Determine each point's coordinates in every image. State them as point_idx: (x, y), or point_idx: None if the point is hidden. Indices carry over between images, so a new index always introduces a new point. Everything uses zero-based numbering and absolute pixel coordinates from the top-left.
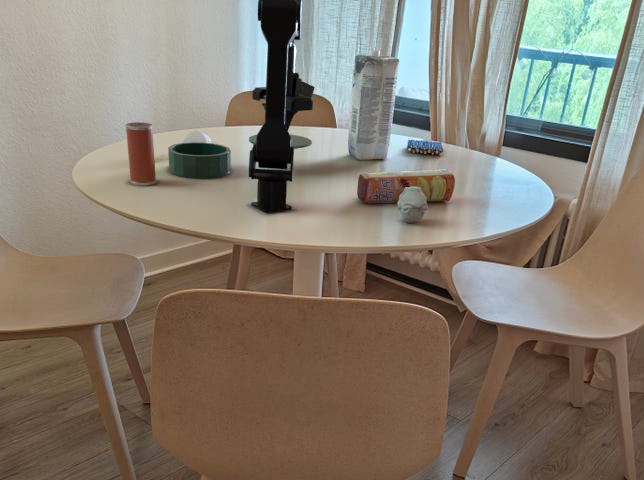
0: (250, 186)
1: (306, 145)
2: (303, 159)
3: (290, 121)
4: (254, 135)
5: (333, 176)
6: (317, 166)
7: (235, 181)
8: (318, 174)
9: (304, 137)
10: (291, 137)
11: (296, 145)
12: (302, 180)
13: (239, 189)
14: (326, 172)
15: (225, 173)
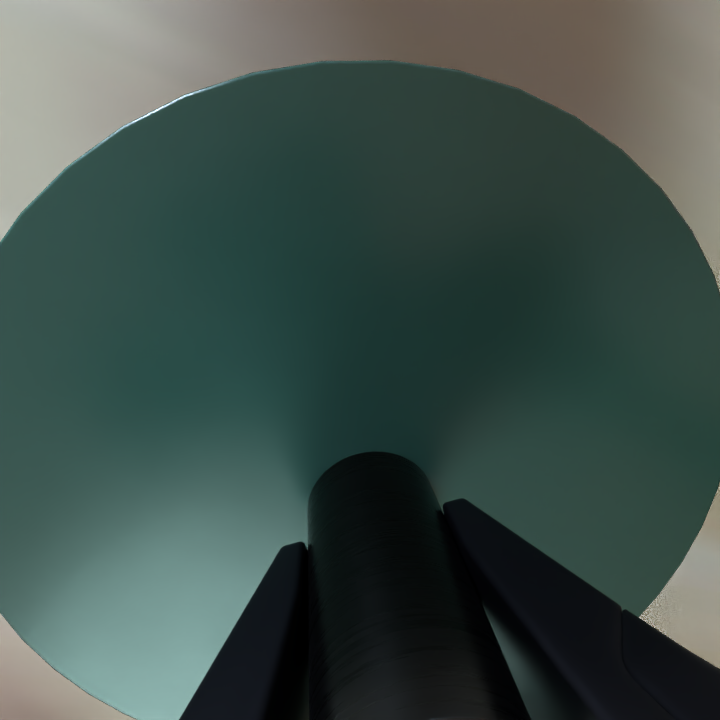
0: (667, 605)
1: (713, 280)
2: (30, 38)
3: (668, 655)
4: (121, 702)
5: (687, 18)
6: (336, 9)
7: None
8: None
9: (238, 103)
10: (236, 329)
11: (699, 413)
12: None
13: (688, 649)
14: (556, 21)
15: None
